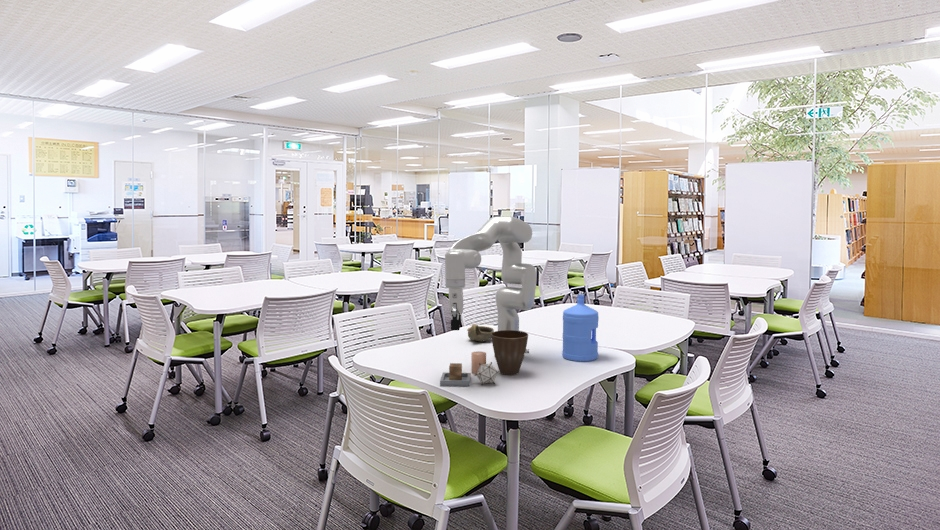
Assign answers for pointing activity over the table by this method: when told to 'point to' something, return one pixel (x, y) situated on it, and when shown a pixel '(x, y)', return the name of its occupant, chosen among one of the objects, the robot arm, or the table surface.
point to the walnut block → (455, 371)
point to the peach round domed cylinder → (477, 360)
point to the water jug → (580, 332)
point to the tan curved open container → (480, 333)
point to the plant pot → (509, 350)
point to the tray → (446, 382)
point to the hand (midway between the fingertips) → (456, 327)
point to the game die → (486, 373)
